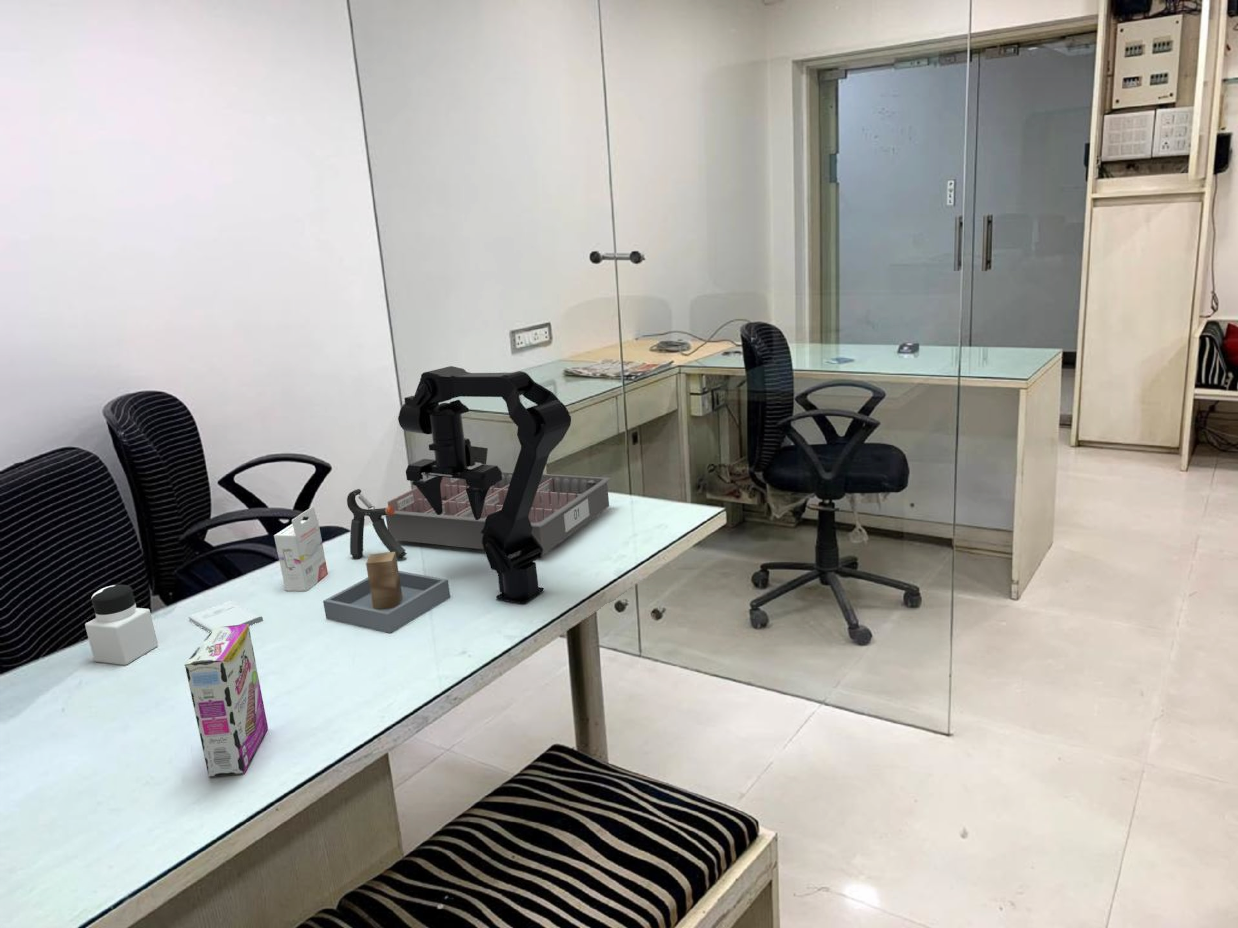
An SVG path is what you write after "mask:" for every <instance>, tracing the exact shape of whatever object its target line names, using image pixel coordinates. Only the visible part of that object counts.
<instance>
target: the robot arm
mask: <svg viewBox="0 0 1238 928" xmlns="http://www.w3.org/2000/svg"><path fill="white" fill-rule="evenodd" d="M520 396H523V397H524V398H525V399H527V400H528V401H530V402H531V403H534V404H536V405H534V406H530V407H527V408H526V407H525V405H524V404H522V402H521V398H520ZM460 397H466V398H467V397H468V398H471V397H472V398H474V397H475V398H483V397H484V398H501V399H503V401H505V404H506V408H507V412H508V416H509V419H511V420H512V421H513V423H514V424H515V425H516V427H517V430H516V431H517V433H516V435H517V438H518V441H519V445H520V450H519V453H518V456H517V459H516V463H515V466H514V469H513V471H512V472H513V475H512V478H511V481H510V484H509V487H508V491H507V494H506V497H505V500H504V503H503V506H502V509H501V510H499V511H497V512H494V513H492V514H490V515H488V516H487V517H486V519H485V526H484V528H483V530H482V531H481V533H482V534H483V537H482V544H483V548H484V549H483V550H484V553H485V556H486V558H487V562H488V564H489V567H490V569H491V570H492V571H495V572H496V574H497V578H498V579H497V580H498V589H499V592H500V593H499V594H497V595H496V596H495V597H496V600H498V601H499V600H500V601H505V602H510V603H516V604H519V605H520V604H522V605H524V604H527V603H528V602H530V601H532V600H533V599H534V598H536V597H537V596H539V595H540V594H541V593H540V592H542V591H543V590H544V591H545V588H544V587H542V586H541V587H539V580H538V573H537V571H538V570H537V563H536V560H540V559H542V557H543V555H542V553H543V548H542V547H541V545H540V544H539V543H538V541H537V540H536V539H535V538H534V536H533V535H532V534H531V531H532V525H531V522H530V520H529V513H530V510H531V507H532V504H533V501H534V498H535V495H536V492H537V489H538V486H539V483H540V480H541V477H542V474H544V471H545V468H546V465H547V462H548V459H549V456H550V454H551V453H552V452H553V451H554V449H555V448H556V447H557V446H558V445H559V444H560V443H561V442H562V441H563V439H564V438H565V436H566V434H567V432H568V431H569V429H570V427H571V423H572V416H571V415H570V412H569V410H568V408H567V407H566V405H565V404H564V403H563V402H562V401H561V400H560V399H559V398H558V397H557V396H556V394H554V392H552V391H551V390H550V389H548V388H546V387H545V386H542V385H541V384H539V383H537V382H536V381H534V379H533V378H532V377H531V376H530V375H529V373H527V372H525V371H521V370H519V371H518V370H517V371H514V372H469V371H467V370H465V369H464V368H462V367H458V366H457V367H456V366H454V365H453V366H452V365H449V366H446V367H445V366H444V367H441V368H437V369H433V370H428V371H424V372H422V373H421V374H420V379H419V382H418V385H417V387H416V391H415V393H414V395H410V396H407V397H404V404H403V405H402V406H401V408H400V409H399V413H398V417H397V421H398V424H399V426H400V428H401V429H402V430H404V431H405V432H408V433H409V432H410V433H416V434H422V435H423V434H424V435H431V437H432V443H430V444H428V450H429V451H433V452H434V459H429V458H423V459H420V460H418V461H415V462H413V463H410V464H408V465H407V468H406V470H405V476H406V481H411V484H412V485H413V486H415V488H416V487H417V488H418V489H419V490H420V492H421V493H422V494H423V495H424V497H425V498H426V499H427V501H428V502H429V504H430V505H431V506H432V508H433V509H434V511H435V512H436V514H437V515H440V514H442V498H441V489H440V484H441V481H442V478H443V477H448V478H458V479H465V481H466V484H467V485H468V486H469V487H468V488H466V492H467V495H468V499H469V502H470V506H471V509H472V512H473V515H474V517H475V520H479V519H480V518H481V514H482V510H483V506H484V501H485V498H486V495H487V492H488V490H489V489H490V487H491V486H494V485H495V484H496V483H497V482H499V481H501V480H502V472H501V471H502V470H501V468H500V467H499V466H498V465H494V464H487V461H488V460H487V458H488V448H487V447H482V446H474V445H472V444H471V440H470V438H465V434H464V433H465V431H464V425H463V417H462V415H463V414H465V413H468V412H469V411H470V409H469V407H468V406H467V405H466V404H464V403H463V402H461V400H460V399H456V398H460ZM452 399H456V400H453V401H451V400H452ZM447 401H450V402H447ZM476 463H480V464H481V465H478V466H476ZM474 466H476V467H474ZM469 467H472V469H470V468H469ZM458 473H460V474H458ZM518 551H520V552H519V553H516V552H518ZM544 591H543V592H544ZM543 592H542V593H543ZM539 593H540V594H539ZM538 594H539V595H538ZM535 596H536V597H535Z"/></svg>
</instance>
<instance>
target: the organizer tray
mask: <svg viewBox="0 0 1238 928" xmlns="http://www.w3.org/2000/svg"><path fill="white" fill-rule="evenodd" d="M501 472H502V480H501V481H499V482H497V483H496V484H495V485H494V486H491V487H490V489H489V490H488V492H487V495H486V498H485V501H484V506H483V510H482V514H481V518H480V519H479V520H475V517H474V515H473V512H472V509H471V506H470V502H469V499H468V495H467V492H466V488H468V487H469V486H468V485H467V484H466V481H465V479H458V478H448V477H443V478H442V481H441V484H440V489H441V498H442V514H440V515H437V514H436V512H435V511H434V509H433V508H432V506H431V505H430V504H429V502H428V501H427V499H426V498H425V497H424V495H423V494H422V493H421V492H420V490H419V489H418V488H417V487H416V486H415V488H413V489H411V490H410V489H409V490H408V491H406V492H404V493H402V494H400V495H398V496H396V497H394V498H391V499H390V500H388V501H387V507H394V510H395V512H394V514H393V515H384V517H385V520H386V527H387V529H388V530H389V532H390V533H391V535H392V536H393V538H394V539H395V540H396V541H403V542H412V543H422V544H430V545H438V546H439V545H440V546H451V547H452V549H451V550H452V551H453V549H454V548H453V547H457V548H468V549H469V548H470V549H476V550H478V549H479V550H484V548H483V544H482V537H483V534H482V533H481V531H482V530H483V528H484V526H485V519H486V517H487V516H488V515H490V514H492V513H494V512H497V511H499V510H501V509H502V506H503V503H504V500H505V497H506V494H507V491H508V487H509V484H510V481H511V478H512V475H513V472H514V471H505V470H504V471H503V470H501ZM458 474H460V473H458ZM611 480H612V478H611V477H599V476H585V475H584V476H582V475H569V474H567V475H565V474H553V473H551V474H549V473H543V474H542V477H541V480H540V483H539V486H538V489H537V492H536V495H535V498H534V501H533V504H532V507H531V510H530V513H529V520H530V522H531V525H532V531H531V534H532V535H533V536H534V538H535V539H536V540H537V541H538V543H539V544H540V545H541V547H542V548H543V553H542V556H544V555H545V554H547V553H548V552H549V551H551V550H552V549H553V548H555V547H556V546H557V545H559V544H560V543H561V542H563V541H564V540H565V539H568V538H569V536H571V535H572V534H574V533H576V531H578V530H579V529H580V528H582V527H583V526H584V525H586V524H587V523H589V522H590V521H591V520H593V519H594V518H595V517H597V516H598V515H599V514H601V513H602V512H604V511H605V510H606V509H608V507H610V501H609V489H608V488H609V487H608V482H609V481H611ZM519 552H520V551H518V552H516V553H515V554H517V553H519Z"/></svg>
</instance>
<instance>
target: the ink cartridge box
mask: <svg viewBox="0 0 1238 928" xmlns="http://www.w3.org/2000/svg"><path fill="white" fill-rule="evenodd" d="M304 517H305V518H308V519H304ZM273 537H274V542H275V548H276V552H277V556H278V561H279V566H280V570H281V576H282V579H283V585H284V590H285V591H286V592H300V591H301V592H307V591H309V590H310V589H311V588H313V586H315V585H317V583H319V582H320V581H321V580H322V579H323V578H325V577H326V576H327V575H328V574H329V571H328V568H327V567H328V566H327V562H326V560H327V559H326V556H325V550H324V545H323V540H322V534H321V530H320V524H319V520H318V517H317V513H316V510H315V507H314V506H311V507H310V508H308V509H306V510H305V511H303V512H301V513H300V514H298V515H297V516H296V517H294V518H292V519H291V524H290V525H288V526H286V527H285V528H283V529H282V530H280V531H279V532H277V533H276V534H274V535H273Z"/></svg>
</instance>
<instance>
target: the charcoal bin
mask: <svg viewBox="0 0 1238 928" xmlns="http://www.w3.org/2000/svg"><path fill="white" fill-rule="evenodd" d="M398 571H399V578H400V584H401V591H402V597H403V598H402V601H401V604H400V605H398V606H397V607H395V608H391V609H382V610H377V609H373V603H372V597H371V591H370V585H369V579H368V577H366V578H364V579H363V580H360V581H359V582H356V583H354V584H353V585H351V586H349V587H347V588H345V589H343V590H341V591H339V592H338V593H335V594H333V595H331V596H328V597H327V598H326V599H324V600H323V601H322V603H323V608H324V613H325V619H326V620H330V621H334V622H339V623H344V624H348V625H352V626H357V627H362V628H366V629H370V630H375V631H380V632H384V633H388V634H392V633H393V632H395V631H397V630H399V629H400V628H401V627H403V626H405V625H406V624H408V623H409V622H411V621H413V620H415V619H417V618H418V617H420V616H422V615H423V614H425V613H426V612H428V611H429V610H431V609H433V608H434V607H436V606H438V605H439V604H441V603H443V602H444V601H446V600H448V599H450V598H451V594H450V593H451V591H450V585H449V579H447V578H443V577H441V578H440V577H436V576H430V575H424V574H418V573H413V572H407V571H402V570H398Z"/></svg>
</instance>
